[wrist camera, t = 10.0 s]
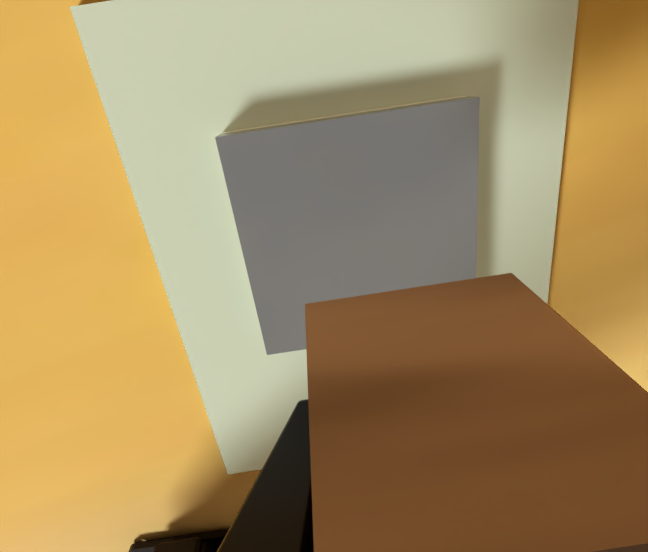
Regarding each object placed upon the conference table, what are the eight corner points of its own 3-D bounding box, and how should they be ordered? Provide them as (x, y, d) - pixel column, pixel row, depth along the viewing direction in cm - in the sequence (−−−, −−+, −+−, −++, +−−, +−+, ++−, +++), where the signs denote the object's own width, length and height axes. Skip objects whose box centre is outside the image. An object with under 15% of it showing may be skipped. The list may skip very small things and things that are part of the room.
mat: (530, 423, 23) (534, 429, 23) (228, 468, 23) (227, 474, 23) (579, -69, 14) (586, -73, 14) (75, 8, 14) (69, 7, 14)
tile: (269, 334, 19) (461, 305, 19) (267, 354, 18) (475, 323, 18) (222, 132, 16) (462, 95, 15) (214, 137, 14) (479, 97, 14)
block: (502, 428, 10) (685, 732, 5) (331, 453, 10) (362, 779, 5) (511, 272, 8) (794, 522, 3) (304, 303, 8) (315, 591, 3)
